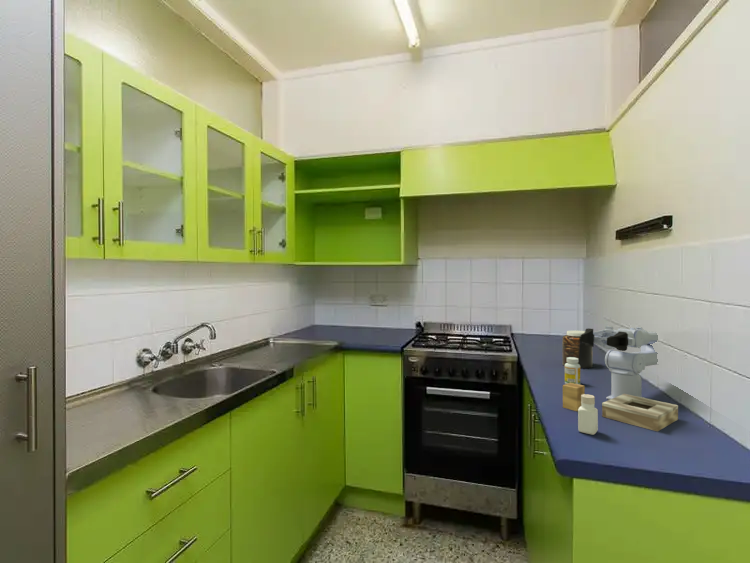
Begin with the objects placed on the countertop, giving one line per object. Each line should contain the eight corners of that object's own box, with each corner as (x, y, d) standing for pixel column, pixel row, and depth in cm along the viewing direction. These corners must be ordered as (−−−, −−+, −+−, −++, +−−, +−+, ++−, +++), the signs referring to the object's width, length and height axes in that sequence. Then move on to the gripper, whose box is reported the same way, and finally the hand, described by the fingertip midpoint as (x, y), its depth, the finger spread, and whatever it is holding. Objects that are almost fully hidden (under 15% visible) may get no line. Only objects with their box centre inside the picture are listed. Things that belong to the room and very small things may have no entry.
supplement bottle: (569, 386, 149) (569, 360, 148) (561, 382, 154) (561, 357, 154) (583, 385, 149) (583, 359, 149) (575, 381, 155) (574, 356, 154)
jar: (585, 370, 171) (584, 334, 171) (557, 365, 180) (557, 331, 180) (597, 365, 179) (596, 331, 178) (570, 361, 188) (570, 329, 187)
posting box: (624, 406, 126) (624, 393, 126) (678, 419, 115) (678, 405, 114) (602, 416, 118) (602, 402, 118) (657, 431, 106) (657, 416, 106)
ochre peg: (570, 404, 129) (570, 382, 129) (584, 408, 125) (584, 385, 125) (562, 407, 126) (562, 385, 126) (577, 411, 123) (576, 388, 122)
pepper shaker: (598, 431, 107) (598, 395, 107) (594, 436, 104) (594, 399, 104) (581, 427, 110) (581, 392, 110) (577, 432, 107) (577, 396, 107)
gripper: (593, 323, 135) (571, 324, 127) (642, 328, 123) (621, 328, 115) (592, 345, 135) (570, 346, 127) (641, 351, 123) (620, 353, 115)
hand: (594, 339), depth 121 cm, fingers open, 7 cm apart
